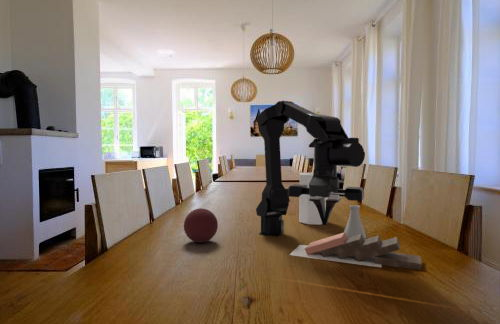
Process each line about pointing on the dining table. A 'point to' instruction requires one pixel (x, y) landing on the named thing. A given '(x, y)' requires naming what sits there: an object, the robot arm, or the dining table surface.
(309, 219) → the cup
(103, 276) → the dining table surface
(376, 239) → the domino
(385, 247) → the domino
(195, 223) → the decorative ball
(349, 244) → the domino
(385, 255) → the domino
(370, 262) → the runner
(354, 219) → the flask
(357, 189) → the robot arm
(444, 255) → the dining table surface
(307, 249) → the domino
